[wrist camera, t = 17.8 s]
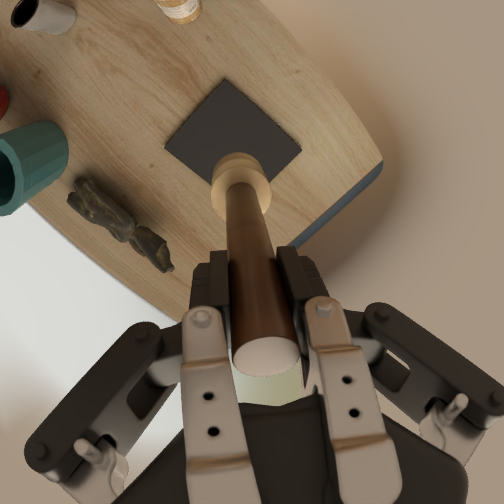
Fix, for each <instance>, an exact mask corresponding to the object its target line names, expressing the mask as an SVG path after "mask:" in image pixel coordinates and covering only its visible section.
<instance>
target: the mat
mask: <svg viewBox="0 0 504 504" xmlns="http://www.w3.org/2000/svg"><path fill="white" fill-rule="evenodd" d="M164 149H166V150H167V151H168V152H170V153H171V154H172V155H173V156H175V157H176V158H177V159H179V160H180V161H181V162H182V163H184V164H185V165H186V166H187V167H189V168H190V169H191V170H192V171H194V172H195V173H196V174H197V175H199V176H200V177H201V178H202V179H204V180H205V181H206V182H207V183H209V184H210V185H212V177H213V171H214V168H215V166H216V164H217V163H218V162H219V160H220V159H222V158H223V157H224V156H226V155H228V154H231V153H237V152H239V153H246V154H249V155H251V156H252V157H254V158H255V159H256V160H257V161H258V162H259V163H260V165H261V167H262V169H263V171H264V173H265V176H266V178H267V180H268V182H269V183H270V182H271V181H272V180H273V179H274V178H275V177H276V176H277V175H278V174H279V173H280V172H281V171H282V170H283V169H284V168H285V167H286V166H287V165H288V164H289V163H290V162H291V161H292V160H293V159H294V158H295V157H296V156H297V155H298V154H299V153H300V152H301V151H302V149H301V148H300V147H299V146H298V145H297V144H296V143H295V142H294V141H293V140H292V139H291V138H290V137H289V136H288V135H287V134H286V133H285V132H284V131H283V130H282V129H281V128H280V127H279V126H277V125H276V124H275V123H274V122H273V121H272V120H271V119H270V118H269V117H268V116H267V115H266V114H265V113H264V112H262V111H261V110H260V109H259V108H258V107H257V106H256V105H255V104H254V103H252V102H251V101H250V100H249V99H248V98H247V97H246V96H244V95H243V94H242V93H241V92H240V91H239V90H237V89H236V88H235V87H234V86H233V85H232V84H230V83H229V82H228V81H227V80H226V79H225V80H224V81H223V82H222V83H221V84H220V85H219V86H218V87H217V88H216V89H215V90H214V91H213V92H212V93H211V94H210V96H209V97H208V98H207V99H206V100H205V101H204V102H203V103H202V104H201V105H200V106H199V107H198V109H197V110H196V111H195V112H194V113H193V114H192V115H191V116H190V118H189V119H188V120H187V121H186V122H185V123H184V124H183V126H182V127H181V128H180V129H179V130H178V132H177V133H176V134H175V135H174V136H173V138H172V139H171V140H170V141H169V142H168V144H167V145H166V146H165V147H164Z"/></svg>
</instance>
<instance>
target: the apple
mask: <svg viewBox="0 0 504 504" xmlns="http://www.w3.org/2000/svg"><path fill="white" fill-rule="evenodd" d="M8 104H9V97H8V93H7V91H6V89H5V88H4V87H3V86H2V85H1V84H0V120H1V119H2V117H3V116H4V114H5V112H6V110H7V108H8Z"/></svg>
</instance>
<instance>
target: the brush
mask: <svg viewBox="0 0 504 504" xmlns="http://www.w3.org/2000/svg"><path fill="white" fill-rule="evenodd" d="M271 197H272V192H271V187H270V184H269V182H268V180H267V178H266V176H265V173H264V171H263V169H262V167H261V165H260V163H259V162H258V161H257V160H256V159H255V158H254V157H252V156H251V155H249V154H246V153H239V152H237V153H231V154H228V155H226V156H224V157H223V158H222V159H220V160H219V162H218V163H217V164H216V166H215V168H214V171H213V177H212V185H211V193H210V199H211V204H212V206H213V209H214V210H215V212H216V213H217V214H218V215H219V216H220V217H221V218H223V219H224V220H226V230H227V255H228V271H229V293H230V314H231V326H230V334H231V353H232V363H233V365H234V366H235V367H236V369H237V370H239V371H240V372H241V373H243V374H246V375H249V376H254V377H268V376H274V375H278V374H280V373H283V372H285V371H287V370H289V369H290V368H292V367H293V366H294V365H295V364H296V363H297V362H298V360H299V358H300V355H301V347H300V343H299V340H298V336H297V332H296V329H295V325H294V322H293V318H292V314H291V311H290V307H289V304H288V300H287V296H286V293H285V289H284V286H283V282H282V279H281V275H280V272H279V268H278V265H277V261H276V258H275V255H274V251H273V248H272V244H271V241H270V237H269V234H268V231H267V227H266V224H265V220H264V217H263V214H264V213H265V212H266V210H267V209H268V207H269V205H270V202H271Z"/></svg>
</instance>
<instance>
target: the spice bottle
mask: <svg viewBox="0 0 504 504" xmlns="http://www.w3.org/2000/svg"><path fill="white" fill-rule="evenodd" d="M154 1H155V2H156V3H157V5H158V6H159V7H160V8H161V10H162V11H163V12H164V13H165V14H166V15H167V17H168V18H169V20H170V21H172V22H173V23H176V24H186V23H190V22H191V21H193V20H195V19H196V18H197V17H198V15H199V14H200V12H201V4H200V2H199V0H154Z"/></svg>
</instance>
